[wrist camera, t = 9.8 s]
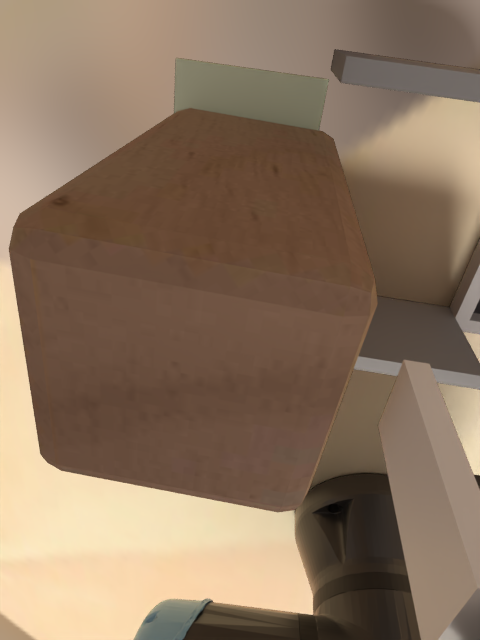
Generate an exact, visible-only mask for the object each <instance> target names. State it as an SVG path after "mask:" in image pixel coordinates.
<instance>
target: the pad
mask: <svg viewBox="0 0 480 640" xmlns="http://www.w3.org/2000/svg"><path fill="white" fill-rule="evenodd" d="M328 82H329V79H324V78H316V77H309V76H302V75H295V74H288V73H281V72H274V71H267V70H260V69H253V68H245V67H238V66H231V65H224V64H217V63H210V62H202V61H196V60H189V59H181V58H176V63H175V96H174V98H175V99H174V113H176V112H177V111H180V110H184V109H188V108H193V109H199V110H204V111H210V112H216V113H221V114H227V115H233V116H238V117H244V118H250V119H255V120H261V121H267V122H272V123H278V124H284V125H289V126H295V127H301V128H306V129H312V130H318V131H319V127H320V122H321V117H322V112H323V107H324V102H325V97H326V92H327V87H328Z"/></svg>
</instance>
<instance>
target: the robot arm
mask: <svg viewBox="0 0 480 640" xmlns="http://www.w3.org/2000/svg"><path fill="white" fill-rule="evenodd" d="M378 428H379V433H380V438H381V443H382V448H383V453H384V458H385V463H386V468H387V473H388V476H387V475H379V474H356V475H348V476H342V477H338V478H335V479H331V480H329V481H326V482H324V483H321V484H319V485H318V486H316V487H314V488H313V489H311V490H310V491H309V492H308V493H307V494H306V496H305V498H304V500H303V502H302V504H301V505H300V506H299V507H297V508H296V511H295V539H296V543H297V547H298V550H299V553H300V556H301V559H302V562H303V565H304V568H305V571H306V574H307V578H308V581H309V584H310V587H311V590H312V593H313V615H308V614H300V613H293V612H285V611H277V610H269V609H261V608H254V607H246V606H238V605H230V604H222V603H214V602H213V601H212V600H211V599H205V600H203V601H196V600H182V599H169V600H165V601H163V602H161V603H159V604H158V605H156V606H155V607H154V608H153V609H152V610H151V611H150V613H149V614H148V615H147V616H146V618H145V619H144V621H143V623H142V625H141V626H140V628H139V630H138V632H137V634H136V636H135V638H134V640H480V476H479V475H474V474H473V472H472V469H471V467H470V464H469V462H468V459H467V457H466V454H465V452H464V449H463V447H462V444H461V442H460V439H459V437H458V434H457V432H456V429H455V427H454V424H453V422H452V419H451V417H450V414H449V412H448V409H447V406H446V404H445V401H444V399H443V396H442V394H441V391H440V389H439V386H438V384H437V381H436V379H435V376H434V374H433V371H432V369H431V366H430V364H428V363H421V362H415V361H409V360H403V363H402V365H401V368H400V371H399V373H398V376H397V378H396V381H395V383H394V386H393V388H392V391H391V393H390V396H389V398H388V401H387V404H386V406H385V409H384V411H383V414H382V416H381V419H380V421H379V424H378Z"/></svg>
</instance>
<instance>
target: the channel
mask: <svg viewBox="0 0 480 640" xmlns="http://www.w3.org/2000/svg"><path fill="white" fill-rule="evenodd" d="M331 71H332V72H333V73H334V74H335V76H336V77H337V78H338V80H339V81H340V82H341V83H345V84H352V85H360V86H367V87H374V88H381V89H388V90H395V91H403V92H409V93H416V94H423V95H430V96H437V97H445V98H452V99H459V100H466V101H473V102H480V69H473V68H465V67H458V66H451V65H443V64H436V63H429V62H422V61H414V60H408V59H401V58H393V57H386V56H379V55H371V54H364V53H357V52H349V51H343V50H336V49H335V50H334V55H333V60H332V66H331ZM377 302H378V304H377V307H376V310H375V312H374V315H373V318H372V320H371V323H370V326H369V329H368V331H367V334H366V337H365V339H364V342H363V345H362V348H361V350H360V353H359V356H358V358H357V361H356V364H355V366H354V369H356V370H362V371H368V372H374V373H381V374H387V375H393V376H398V373H399V371H400V368H401V365H402V363H403V360H409V361H415V362H421V363H428V364H430V366H431V369H432V371H433V374H434V376H435V379H436V381H437V383H442V384H448V385H455V386H461V387H467V388H473V389H479V390H480V363H479V361H478V359H477V358H476V356H475V354H474V352H473V350H472V348H471V346H470V344H469V343H468V341H467V339H466V337H465V335H464V333H463V331H462V330H461V328H460V326H459V324H458V322H457V320H456V318H455V316H454V315H453V313H452V311H451V309H450V307H445V306H438V305H432V304H425V303H419V302H413V301H406V300H400V299H394V298H387V297H381V296H377Z"/></svg>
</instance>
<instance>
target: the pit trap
mask: <svg viewBox="0 0 480 640" xmlns="http://www.w3.org/2000/svg"><path fill="white" fill-rule="evenodd" d="M450 309H451V311H452V313H453V315H454V316H455V318H456V320H457V322H458V324H459V326H460V328H461V330H462V331H463V332H468V333H475V334H480V239H479V241H478V244H477V246H476V248H475V250H474V253H473V255H472V257H471V259H470V262H469V264H468V266H467V269H466V271H465V273H464V275H463V278H462V280H461V282H460V285H459V287H458V289H457V291H456V294H455V296H454V298H453V301H452V303H451V305H450Z"/></svg>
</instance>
